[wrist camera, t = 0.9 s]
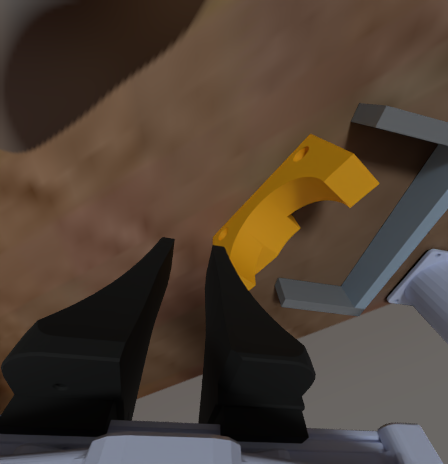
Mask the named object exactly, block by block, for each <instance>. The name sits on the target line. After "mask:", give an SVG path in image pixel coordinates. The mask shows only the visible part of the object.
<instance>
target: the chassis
mask: <svg viewBox="0 0 448 464" xmlns="http://www.w3.org/2000/svg"><path fill="white" fill-rule="evenodd" d="M351 122H354V123H358V124H362V125H366V126H370V127H374V128H378V129H382V130H386V131H390V132H394V133H398V134H402V135H405V136H409V137H413V138H417V139H421V140H425V141H429V142H433V143H437V144H438V146H437V147H436V149H435V150H434V152H433V153H432V154H431V156H430V157H429V159H428V160H427V162H426V163H425V165H424V166H423V168H422V169H421V171H420V172H419V173H418V175H417V176H416V178H415V179H414V181H413V182H412V184H411V185H410V187H409V188H408V189H407V191H406V192H405V194H404V195H403V197H402V198H401V200H400V201H399V203H398V204H397V206H396V207H395V208H394V210H393V211H392V213H391V214H390V216H389V217H388V219H387V220H386V222H385V223H384V224H383V226H382V227H381V229H380V230H379V232H378V233H377V235H376V236H375V238H374V239H373V240H372V242H371V243H370V245H369V246H368V248H367V249H366V251H365V252H364V254H363V255H362V257H361V258H360V259H359V261H358V262H357V264H356V265H355V267H354V268H353V270H352V271H351V273H350V274H349V275H348V277H347V278H346V280H345V281H344V283H343V284H342V286H334V285H327V284H320V283H313V282H306V281H298V280H291V279H284V278H278V280H277V282H276V284H275V287H276V291H277V294H278V297H279V301H280V304H281V307H287V308H295V309H304V310H312V311H320V312H328V313H336V314H345V315H353V316H359V315H360V314H361V313H362V312H363V311H364V309H365V308H366V307H367V306H368V304H369V303H370V302H371V301H372V300H373V298H374V297H375V296H376V295H377V294H378V292H379V291H380V290H381V289H382V288H383V286H384V285H385V284H386V283H387V281H388V280H389V279H390V278H391V277H392V275H393V274H394V273H395V272H396V271H397V269H398V268H399V267H400V266H401V265H402V263H403V262H404V261H405V260H406V258H407V257H408V256H409V255H410V254H411V252H412V251H413V250H414V249H415V248H416V246H417V245H418V244H419V243H420V242H421V240H422V239H423V238H424V237H425V235H426V234H427V233H428V232H429V231H430V229H431V228H432V227H433V226H434V225H435V223H436V222H437V221H438V220H439V219H440V217H441V216H442V215H443V214H444V212H445V211H446V210H447V209H448V122H444V121H441V120H437V119H433V118H430V117H426V116H422V115H419V114H415V113H411V112H408V111H404V110H400V109H397V108H393V107H389V106H384V105H373V104H361V103H359V105H358V108H357V110H356V112H355V114H354V116H353V118H352V120H351Z"/></svg>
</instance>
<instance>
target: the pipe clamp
mask: <svg viewBox="0 0 448 464" xmlns="http://www.w3.org/2000/svg"><path fill="white" fill-rule="evenodd" d="M378 184H380V183H379V182H378V181H377V180H376V179H375V178H374V176H373V175H372V174H371V173H370V172H369V171H368V169H367V168H366V167H365V166H364V165H363V164H362V162H361V161H360V160H359V159H358V158H357V157H356V155H355V154H354V153H351V152H349V151H347V150H345V149H343V148H341V147H338V146H336V145H334V144H332V143H330V142H327V141H325V140H323V139H321V138H319V137H316V136H314V135H312V134H310V135H309V136H308V137H307V138H306V139H305V140H304V141H303V142H302V143H301V144H300V145H299V147H298V148H297V149H296V150H295V151H294V152H293V153H292V154H291V155H290V156H289V157H288V158H287V159H286V160H285V161H284V162H283V163H282V165H281V166H280V167H279V168H278V169H277V170H276V171H275V172H274V173H273V174H272V175H271V176H270V177H269V178H268V179H267V180H266V181H265V182H264V184H263V185H262V186H261V187H260V188H259V189H258V190H257V191H256V192H255V193H254V194H253V195H252V196H251V197H250V198H249V199H248V200H247V202H246V203H245V204H244V205H243V206H242V207H241V208H240V209H239V210H238V211H237V212H236V213H235V214H234V215H233V216H232V217H231V218H230V220H229V221H228V222H227V223H226V224H225V225H224V226H223V227H222V228H221V229H220V230H219V231H218V232H217V233H216V234H215V235H214V236H213V245H217V246H223V247H224V248H225V249H226V252H227V254H228V256H229V258H230V260H231V262H232V264H233V266H234V268H235V270H236V272H237V273H238V275H239V277H240V279H241V280H242V282H243V283H244V285H245V286H246V288H247V289H248V291H249V290H250V289H252V288H253V287H254V286H255V285H256V283H255V275H256V274H257V273H258V272H259V271H260V270H261V269H263V268H264V267H265V266H266V265H267V264H269V263H270V262H271V261H272V260H273V259H274V258H276V257H277V256H278V254H279V252H280V251H281V249H282V248H283V246H284V245H285V243H286V242H287V241H288V240H289V239H290V238H291V237H292V236H293V235H294V234H295V233H296V232H297V231H298V230H299V229H301V228H300V227H299V225H298V223H297V222H296V220H295V218H294V217H293V215H291V213H293V212H294V211H296V210H297V209H299V208H301V207H303V206H305V205H308V204H310V203H314V202H317V201H324V200H332V201H338V202H341V203H343V204H345V205H347V206H348V207H352V206H353V205H354V204H355V203H356V202H358V201H359V200H360V199H361V198H363V197H364V196H365V195H366V194H367V193H369V192H370V191H371V190H372V189H374V188H375V187H376V186H377V185H378Z"/></svg>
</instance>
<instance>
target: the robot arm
mask: <svg viewBox="0 0 448 464" xmlns="http://www.w3.org/2000/svg"><path fill="white" fill-rule="evenodd" d="M174 240H175V239H171V238H165V237H163V238H161V239H160V240H159V242H158V243H157V244H156V245H155V246H154V247H153V248H152V249H151V250H150V252H148V253H147V254H146V255H145V256H144V257H143V258H142V259H141V260H140V261H139V262H138V263H137V264H136V265H134V266H133V267H132V268H131V269H130V270H129V271H127V272H126V273H125V274H123V275H122V276H121V277H119V278H118V279H117V280H115V281H114V282H112V283H111V284H109V285H108V286H106V287H104V288H103V289H101V290H100V291H98V292H96V293H95V294H93V295H91V296H89V297H87V298H85V299H84V300H82V301H80V302H78V303H76V304H74V305H72V306H70V307H68V308H66V309H63V310H61V311H59V312H56V313H54V314H52V315H49V316H47V317H45V318H42V319H40V320H38V321H37V322H36V323H35V324H34V325H33V326H32V327H31V328H30V329H29V330H28V331H27V332H26V333H25V335H24V336H23V337H22V338H21V339H20V341H19V342H18V343H17V345H16V346H15V347H14V348H13V350H12V351H11V352H10V353H9V355H8V356H7V357H6V359H5V360H4V361H3V363H2V366H1V370H2V373H3V376H4V378H5V380H6V381H7V383H8V385H9V386H10V388H11V389H12V391H13V393H14V394H15V395H14V396H13V398H12V399H11V401H10V402H9V404H8V405H7V407H6V408H5V410H4V411H3V413H2V414H1V415H0V464H443V462H442V461H441V459H440V458H439V456H438V454H437V453H436V451H435V449H434V448H433V446H432V444H431V443H430V441H429V439H428V438H427V436H426V435H425V433H424V431H423V430H422V428H421V426H420V425H418V424H413V423H388V424H385V425H383V426H381V427H380V428H379V429H378V431H364V430H363V431H362V430H340V429H316V428H306V424H305V421H304V417H303V413H302V411H303V410H304V408H305V406H304V403H303V399H302V395H303V394H304V393H305V392H306V391H307V390H308V389H309V388H310V386H311V385H312V383H313V382H314V380H315V375H316V374H315V371H314V368H313V365H312V362H311V360H310V357H309V355H308V353H307V351H306V348H305V346H304V345H302V344H301V343H300V342H299V341H298V340H297V339H295V338H294V337H293V336H292V335H290V334H289V333H288V332H287V331H286V330H284V329H283V328H282V327H281V326H280V325H279V324H278V323H277V322H276V321H275V320H274V319H273V318H272V317H271V316H270V315H269V314H268V313H267V312H266V311H265V310H264V309H263V308H262V307H261V306H260V305H259V303H258V302H257V301H256V300H255V299H254V297H253V296H252V295H251V293H250V292H249V291H248V289H247V288H246V286H245V285H244V283H243V282H242V280H241V279H240V277H239V275H238V273H237V272H236V270H235V268H234V266H233V264H232V262H231V260H230V258H229V256H228V254H227V252H226V249H225V248H224V247H223V246H217V245H213V247H212V251H211V255H210V260H209V264H208V268H207V273H206V283H205V310H206V339H205V354H204V366H203V379H202V391H201V402H200V412H199V423H173V422H152V421H132V417H133V412H134V408H135V403H136V399H137V394H138V390H139V385H140V381H141V376H142V372H143V368H144V363H145V359H146V355H147V351H148V346H149V342H150V338H151V334H152V330H153V326H154V323H155V320H156V317H157V314H158V311H159V308H160V305H161V302H162V299H163V297H164V294H165V291H166V288H167V285H168V280H169V276H170V271H171V266H172V257H173V249H174ZM387 301H388V302H389V303H395V304H403V305H410V306H413V307H414V308H415V309H416V310H417V311H418V312H419V313H420V314H421V315H422V316H423V318H424V319H425V320H426V321H427V322H428V323H429V324H430V325H431V326H432V327H433V328H434V330H435V331H436V332H437V333H438V334H439V335H440V336H441V337H442V338H443V339H444V340H445V342H446V343H447V344H448V251H443V250H438V249H431V250H429V251H427V253H426V254H425V255H424V256H423V257H422V258H421V259H420V261H419V262H418V263H417V264H416V265H415V266H414V267H413V269H412V270H411V271H410V272H409V273H408V274H407V275H406V277H405V278H404V279H403V280H402V281H401V282H400V284H399V285H398V286H397V287H396V288H395V289H394V290H393V292H392V293H391V294H390V295H389V296H388V297H387Z"/></svg>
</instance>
